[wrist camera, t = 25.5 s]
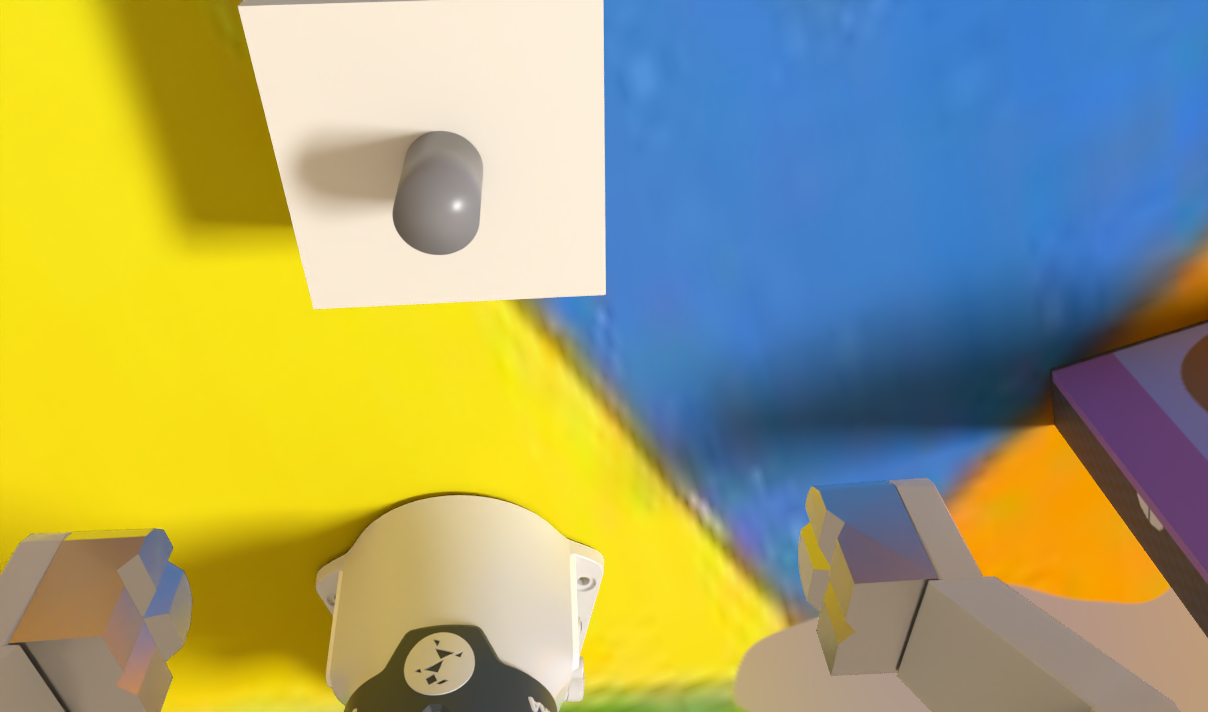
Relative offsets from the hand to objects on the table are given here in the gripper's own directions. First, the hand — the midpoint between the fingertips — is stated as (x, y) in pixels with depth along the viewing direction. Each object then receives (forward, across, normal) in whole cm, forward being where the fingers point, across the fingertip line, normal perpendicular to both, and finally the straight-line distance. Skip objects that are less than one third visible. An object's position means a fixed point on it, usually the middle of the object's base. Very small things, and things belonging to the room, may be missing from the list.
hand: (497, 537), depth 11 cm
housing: (+31, +3, +6) cm, 32 cm away
